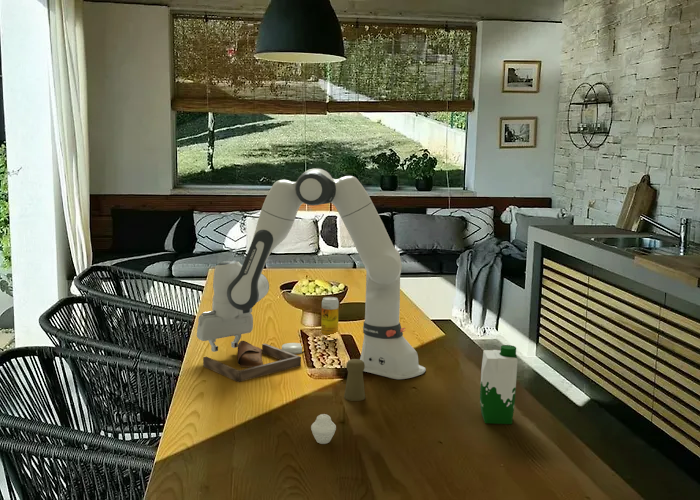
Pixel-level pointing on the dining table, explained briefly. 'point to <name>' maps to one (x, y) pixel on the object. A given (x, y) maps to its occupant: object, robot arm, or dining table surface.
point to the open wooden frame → (285, 363)
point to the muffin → (323, 429)
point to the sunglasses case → (249, 355)
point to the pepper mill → (355, 380)
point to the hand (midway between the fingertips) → (224, 349)
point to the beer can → (329, 315)
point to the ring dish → (292, 348)
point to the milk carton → (498, 385)
